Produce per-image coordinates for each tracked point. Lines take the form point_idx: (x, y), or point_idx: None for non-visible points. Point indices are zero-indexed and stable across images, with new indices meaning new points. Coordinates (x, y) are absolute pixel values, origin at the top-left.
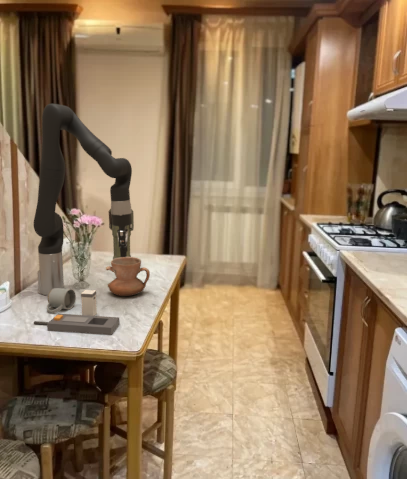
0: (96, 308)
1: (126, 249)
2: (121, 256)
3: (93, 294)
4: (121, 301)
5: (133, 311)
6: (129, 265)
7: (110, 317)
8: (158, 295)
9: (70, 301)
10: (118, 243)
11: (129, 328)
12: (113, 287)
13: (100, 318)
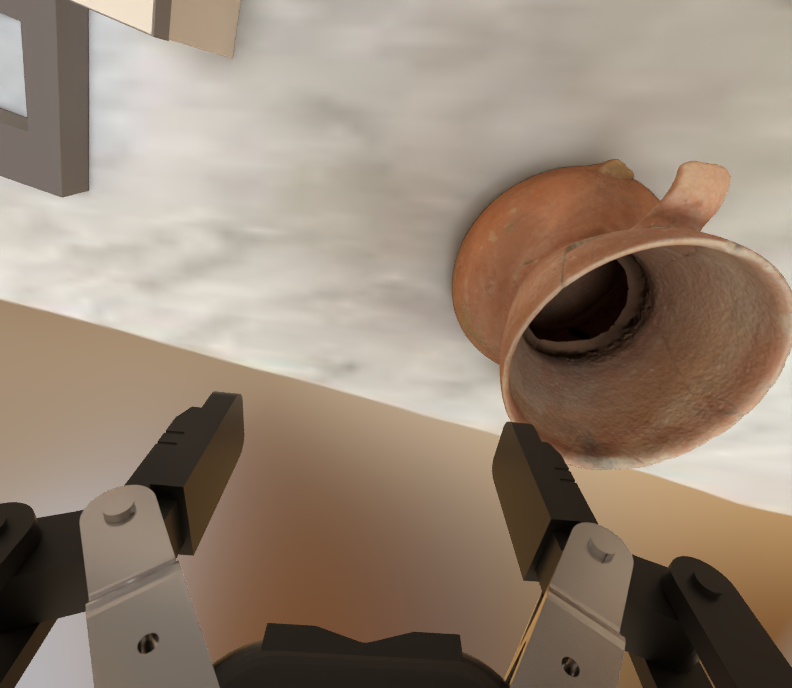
0: (216, 53)
1: (499, 482)
2: (213, 400)
3: (84, 6)
4: (420, 226)
5: (264, 273)
6: (500, 380)
7: (49, 144)
8: (461, 399)
9: None
10: None
11: (46, 234)
12: (515, 198)
13: (26, 76)
